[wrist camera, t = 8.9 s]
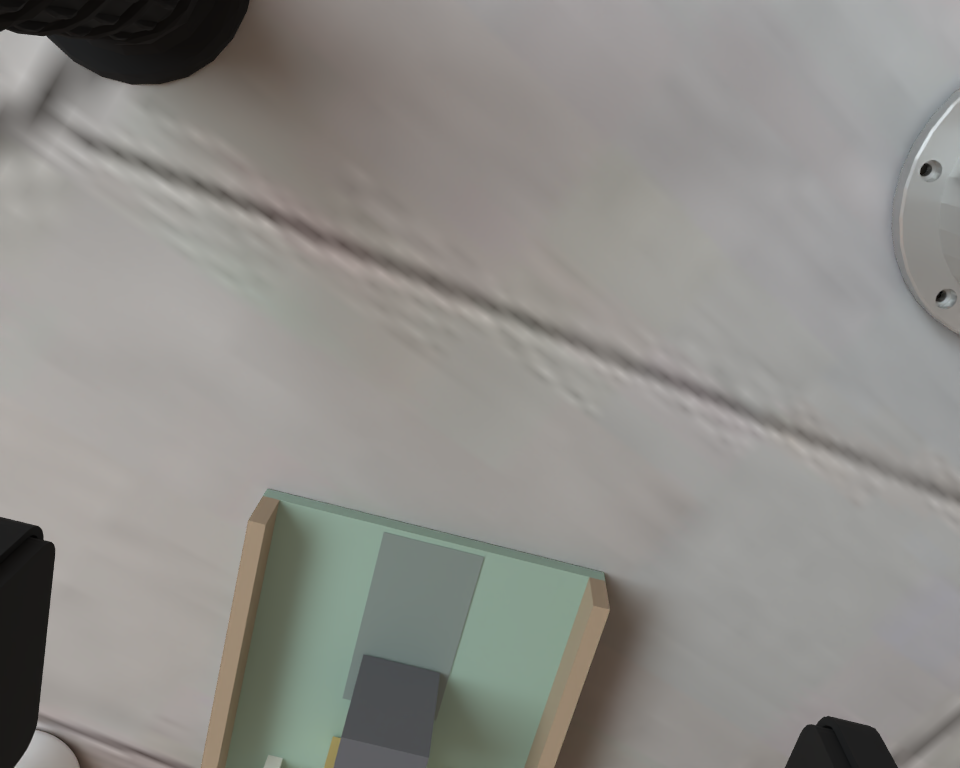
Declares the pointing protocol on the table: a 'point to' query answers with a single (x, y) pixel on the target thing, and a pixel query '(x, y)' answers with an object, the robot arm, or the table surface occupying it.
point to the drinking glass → (47, 753)
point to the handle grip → (131, 33)
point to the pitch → (398, 637)
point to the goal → (273, 762)
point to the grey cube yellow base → (387, 718)
